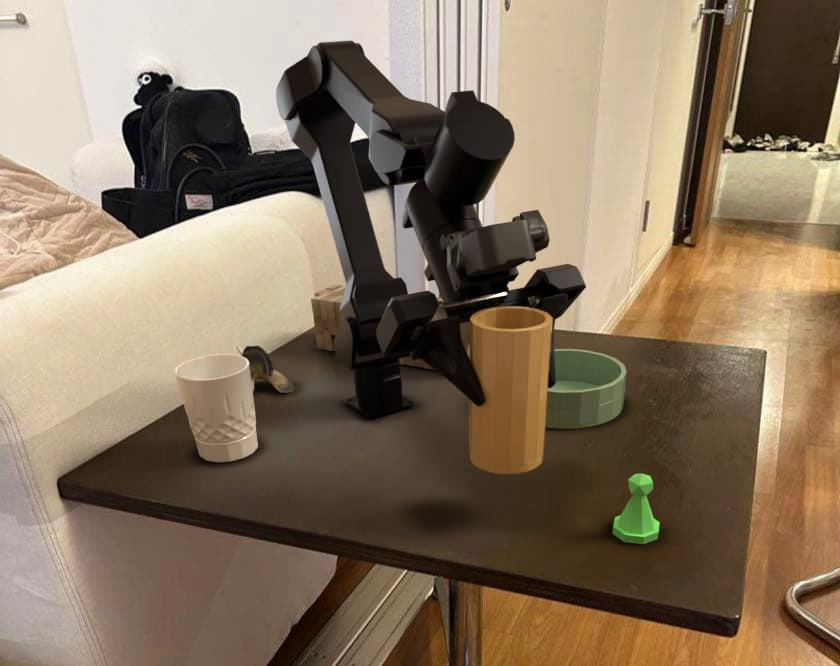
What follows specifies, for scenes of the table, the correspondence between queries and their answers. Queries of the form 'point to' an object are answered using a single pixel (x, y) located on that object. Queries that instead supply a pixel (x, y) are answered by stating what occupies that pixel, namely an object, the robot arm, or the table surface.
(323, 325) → the block tower
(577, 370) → the pan
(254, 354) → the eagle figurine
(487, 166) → the robot arm
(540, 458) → the tumbler
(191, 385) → the white cup
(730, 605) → the table surface
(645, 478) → the game piece
